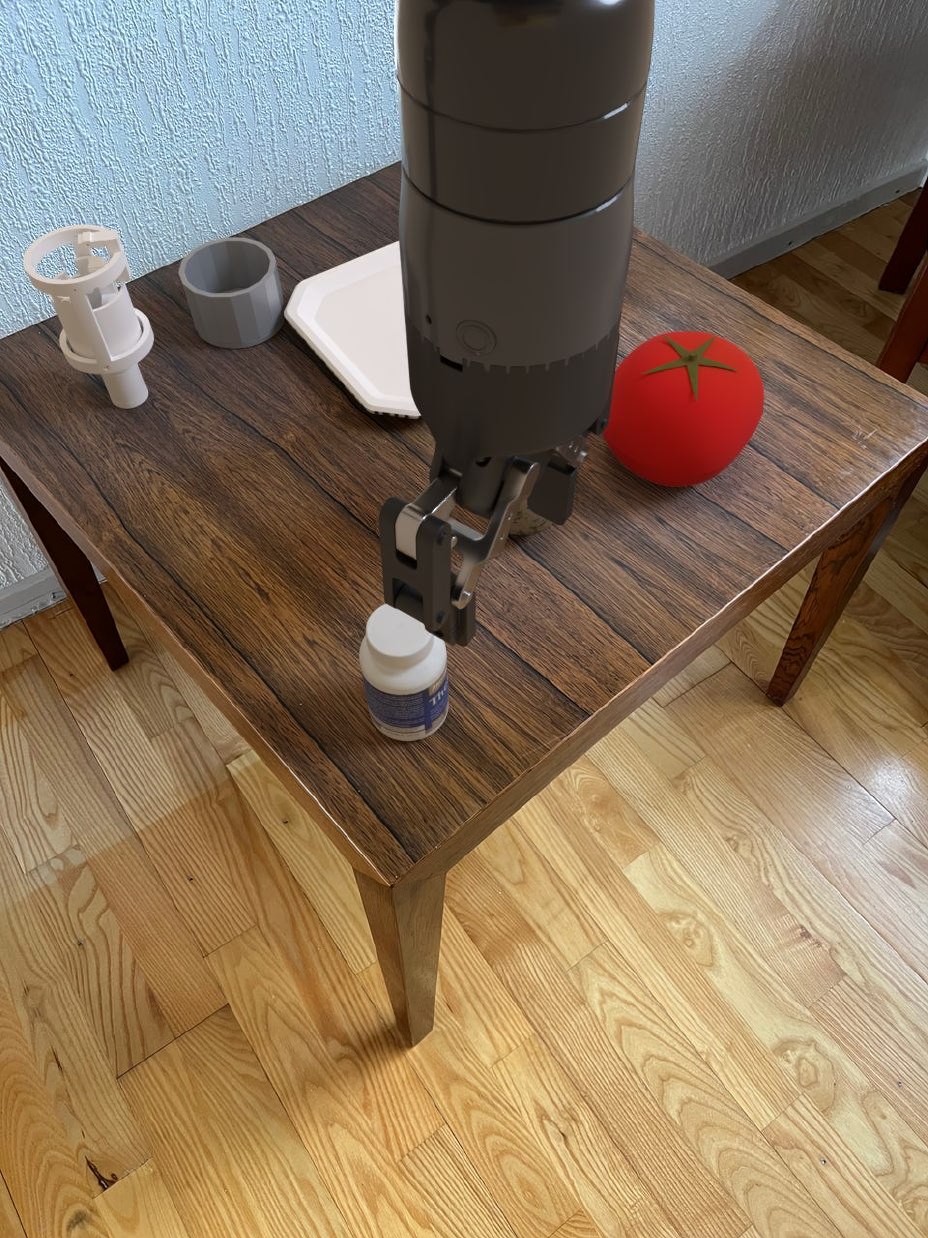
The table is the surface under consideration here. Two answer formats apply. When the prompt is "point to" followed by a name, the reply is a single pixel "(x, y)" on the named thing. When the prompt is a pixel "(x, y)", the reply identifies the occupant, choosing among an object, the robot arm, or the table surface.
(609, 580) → the table surface
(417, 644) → the pill bottle
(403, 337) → the plate
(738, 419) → the tomato
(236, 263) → the grey faceted pot
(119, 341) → the white ringed tube holder
